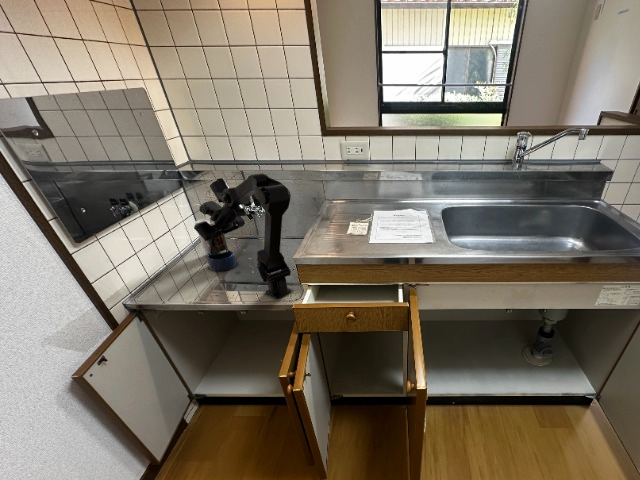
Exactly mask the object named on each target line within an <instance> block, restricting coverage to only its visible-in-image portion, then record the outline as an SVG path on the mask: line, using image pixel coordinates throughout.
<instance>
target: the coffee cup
mask: <svg viewBox="0 0 640 480" xmlns="http://www.w3.org/2000/svg"><path fill="white" fill-rule="evenodd" d="M210 218H211V217H205V218H200V219H197V220H195V223H194V226H195V225H196V224H197V223H200V222H203V221H206V222H208V224H209V225H210V226H212V225H215V224H214V221H212V220H211V219H210ZM197 234H198V237H199V239H200V242H201V244H202V248H203V249H204V252H205V255H206V256H207V254H208V253H209V250H208V246H207V242H206V241H205V240H204V239H203V237H202V236H201V235H200V234H199V233H198V232H197Z"/></svg>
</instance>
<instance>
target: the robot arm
mask: <svg viewBox="0 0 640 480" xmlns="http://www.w3.org/2000/svg"><path fill="white" fill-rule="evenodd" d="M209 188H210V190H211V193H213V195H214V196H215V198H216V200H217V201H218V203H217V202H216V201H214V200H209V201H206V202H202V204H200V206H199V208H198V209H199V212H200V213H201V214H203V215H204V216H205V215H207V216H209V218H210V219H211V220H212V221H214V224H215V225H212V226H210V225H209V224H208V222H206V221H203V222H200V223H197V224H196V225H195V224H194V225H193V229H194V231H196V232H197V234H198V233H199V234H200V235H201V236H202V237H203V239H204V240H205V241H209V240H211V239H213V238H216V237H217V236H216V235H217V234H216V232H217V231H219V230H222V231H224V235H226V234H229V233H231V232H234V231H237V230H238V229H240V228H243V227H244V226H245V225H246V222H245V219H244V218H243V217H246V216H247V211H245V208H244V207H243V205H248V204H249V203H250V201H252V200H251V199H252V198H251V197H252V196H253V197H254V198H255V199H256V200H257V201H258V202H259V205H260V207H261V208H262V210H264V240H263V249H261V250H258V251H257V255H256V256H257V259H256V261H257V265H256V266H257V270H258V273H259V275H260V276H259V277H260V278H261V280H262V282H264V283H267V287H268V290H266V291H265V294H267V295H269V296H271V297H273V298H274V299H279V298H281V297H284V296H286V295H287V294H289V293H292V289H290V288H288V283H287V278H286V277H289V276H291V275H292V274H291V273H292V271H291V269H290V267H289V265H288V264H287V262H286V260H285V257H284V255H283V254H282V253H281V241H282V229H283V227H282V226H283V215H284V214H286V212H287V211H288V210H289V207H290V203H291V198H292V196H291V191H290V190H289V188H288V187H287V186H285V184H283V183H282V182H281V181H278V180H276V179H274V178H271V177H269V176H268V175H267V174H266V173H263V172H262V173H253V174H250V175H248V176H247V177H246V178H245V179H244V180H243V181H242V182H240V183H239V184H238V185H237V186H235V187H234V186H233V187H230V185H229V184H228V182H227V181H226V180H225V179H224V178H223V177H220V178H217V179H216V180H215V181H213V182H211V183H210V184H209ZM220 203H223V205H220ZM199 234H198V235H199Z"/></svg>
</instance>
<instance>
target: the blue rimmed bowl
mask: <svg viewBox="0 0 640 480" xmlns="http://www.w3.org/2000/svg"><path fill="white" fill-rule="evenodd" d="M206 261H207V264H208V267H209V269H210V271H213V272H224V271H229V270H231V269H234V268H235V267H236V266H237V261H236V256H235V252H234V251H232V250H230V249H228V253H227V254H226V255H224V256H220V257H214V256H211V255H210V253H208V254H207V255H206Z"/></svg>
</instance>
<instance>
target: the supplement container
mask: <svg viewBox="0 0 640 480" xmlns="http://www.w3.org/2000/svg"><path fill="white" fill-rule="evenodd" d="M216 234H217V235H216V236H217V237H216V238H213V239H211V240H209V241H206V242H207V246H208V250H209V253H210V255H211V256H214V257H220V256H224V255H226V254H227V253H228V250H229V248H228V245H227V239H226V236H225V235H226V234H224V231H222V230H219V231H217V232H216Z"/></svg>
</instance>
